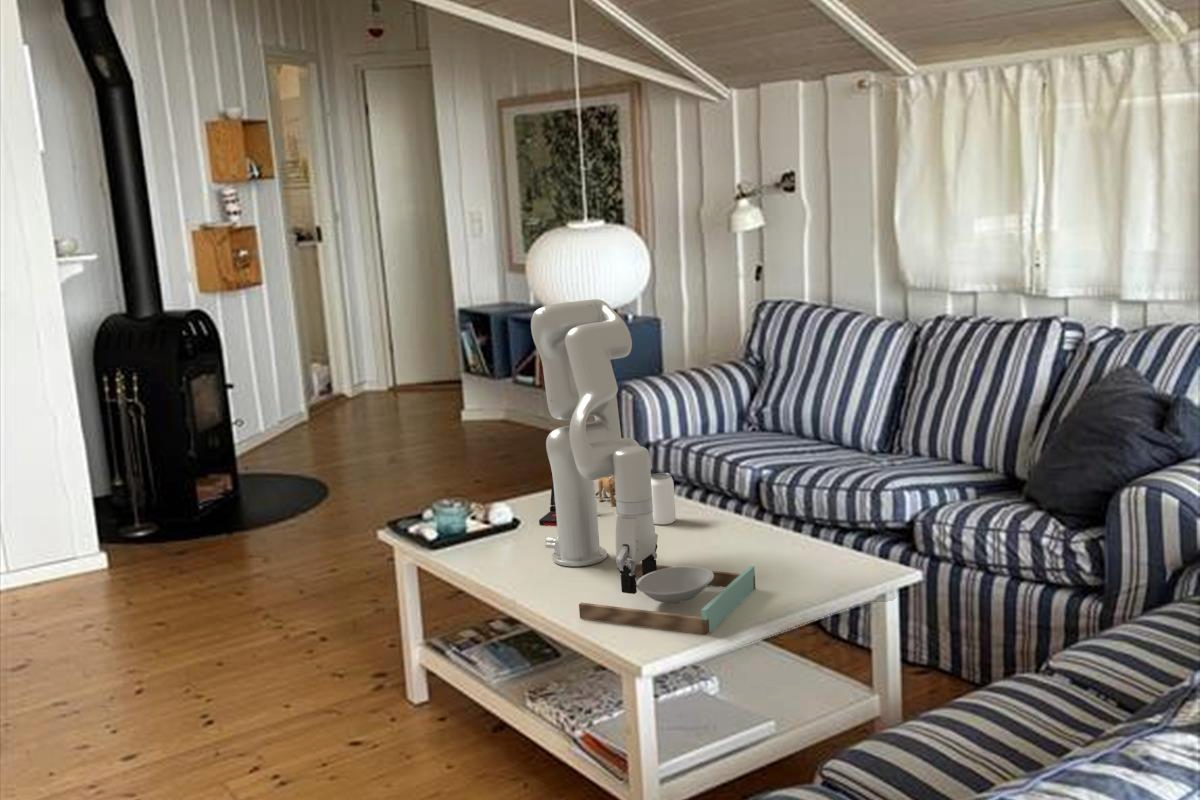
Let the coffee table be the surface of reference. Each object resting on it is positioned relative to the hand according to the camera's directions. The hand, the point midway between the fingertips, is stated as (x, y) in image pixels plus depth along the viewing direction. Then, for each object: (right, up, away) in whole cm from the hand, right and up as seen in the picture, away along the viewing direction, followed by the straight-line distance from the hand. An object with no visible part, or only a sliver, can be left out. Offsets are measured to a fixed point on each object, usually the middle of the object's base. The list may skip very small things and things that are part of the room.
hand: (639, 584), depth 253 cm
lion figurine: (-5, +11, +74) cm, 75 cm away
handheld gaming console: (-18, +7, +62) cm, 65 cm away
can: (+8, +8, +53) cm, 54 cm away
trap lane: (+6, -3, -3) cm, 7 cm away
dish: (+8, -3, -2) cm, 9 cm away
